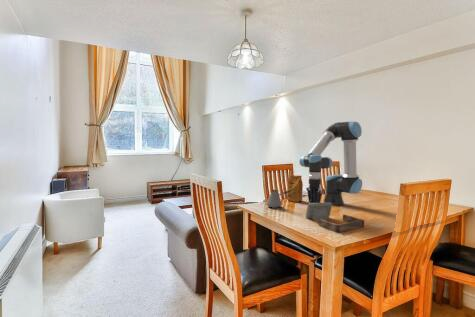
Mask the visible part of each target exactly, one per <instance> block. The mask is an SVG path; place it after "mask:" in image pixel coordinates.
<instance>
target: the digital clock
mask: <svg viewBox="0 0 475 317" xmlns="http://www.w3.org/2000/svg"><path fill="white" fill-rule="evenodd" d="M332 207H333V205H332V203H324V202H320V203H310V202H309V203H308V204H307V208H306V213H305V218H306V219H311V220H313V221H314V222H315V221H317V222H319V219H323V220H325V221H329V217H330V216H331V211H332Z"/></svg>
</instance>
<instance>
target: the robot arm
mask: <svg viewBox="0 0 475 317" xmlns="http://www.w3.org/2000/svg"><path fill="white" fill-rule="evenodd" d="M362 132H363V130H362V126H361V124H360V123H359V122H358V121H352V120H351V121H350V120H349V121H342V122H340V121H339V122H334V123H333V124H331V125H330V126H328V127H327V128H326V129H325V130H324V131H323V133H322V136H321V137H320V139H318V141H317V142H316V143H315V144H314V146H313V147H312V148H311V150H309V152H308V153H307V154H306V155H304V156H301V157H300V158H299V161H298V162H299V165H300V166H301V167H304V168H308V187H306V189H305V190H306V191H307V192H306V193H307V198H308V202H309V203H321V201H322V195H323V193H324V190H322V189H321V186H320V185H322V184H321V182H322V180H321V178H322V169H330V168H331V167H332V166H333V159H332V158H330V157H328V156H325V157H322V153H323V152H324V151H325V150H326V149H327V147H328V146H329V144H331V142H333V141H334V140H335V139H339V138H340V139H341V140H340V141H342V142H343V174H331V175H327V176H326V181H325V189H326V190H325V195H324V199H323V203H332V206H337V207H338V206H344V204H345V203H344V199H343V195H342V194H343V193H345V194H346V193H348V194H351V195H352V194H353V195H357V194H358V193H360V191H361V190H362V187H363V181H362V179H361V178H359V177H360V176H359V175H358V174H357V173H358V172H357V141H359V138H360V137H361V136H362Z"/></svg>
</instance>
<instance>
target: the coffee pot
mask: <svg viewBox="0 0 475 317" xmlns="http://www.w3.org/2000/svg"><path fill="white" fill-rule="evenodd" d="M269 191H270V194H269V196H268V199H267V201H266V206H268V207H269V208H270V207H272V208H271V209H279V208H280V207H282V205H283V203H282V200H281V198H280V196H281V195H284V194H287V193H288V192H290V191H292V190H290V191H287V190H285V191H283V192H281V193H279V192H280V190H278V189H270V190H269ZM292 193H293V191H292ZM278 207H279V208H278Z"/></svg>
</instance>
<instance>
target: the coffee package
mask: <svg viewBox="0 0 475 317" xmlns="http://www.w3.org/2000/svg"><path fill="white" fill-rule="evenodd" d="M303 183H304V182H303V179H302V175H293V174H289V177H288V183H287V190H286V191H290V190H292V191H293V193H292V191H290V192H288V193H286V195H287V196H286V198H287V199H286V200H288V201H287V202H292V203H299V202H302V201H303V192H304V191H303V188H304V186H303Z"/></svg>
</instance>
